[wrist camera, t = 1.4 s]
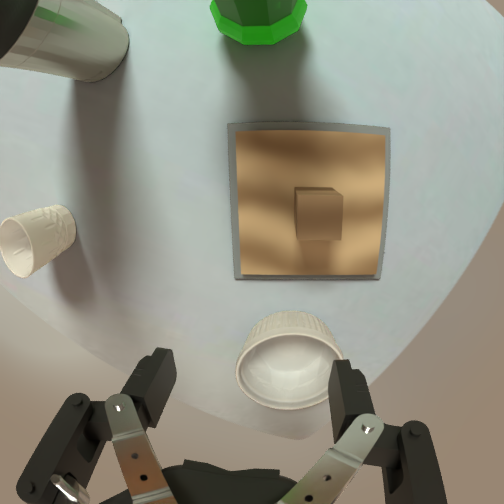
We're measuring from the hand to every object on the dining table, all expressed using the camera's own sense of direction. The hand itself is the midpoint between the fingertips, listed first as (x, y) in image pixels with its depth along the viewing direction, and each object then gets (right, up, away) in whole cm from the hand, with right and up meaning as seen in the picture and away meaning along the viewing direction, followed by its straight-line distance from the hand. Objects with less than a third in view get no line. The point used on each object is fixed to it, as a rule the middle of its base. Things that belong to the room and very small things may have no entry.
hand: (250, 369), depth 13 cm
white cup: (-28, +10, +23) cm, 37 cm away
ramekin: (+5, -7, +25) cm, 27 cm away
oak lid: (+7, +11, +18) cm, 22 cm away
